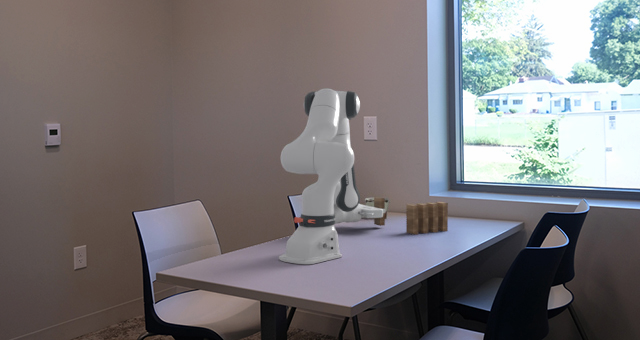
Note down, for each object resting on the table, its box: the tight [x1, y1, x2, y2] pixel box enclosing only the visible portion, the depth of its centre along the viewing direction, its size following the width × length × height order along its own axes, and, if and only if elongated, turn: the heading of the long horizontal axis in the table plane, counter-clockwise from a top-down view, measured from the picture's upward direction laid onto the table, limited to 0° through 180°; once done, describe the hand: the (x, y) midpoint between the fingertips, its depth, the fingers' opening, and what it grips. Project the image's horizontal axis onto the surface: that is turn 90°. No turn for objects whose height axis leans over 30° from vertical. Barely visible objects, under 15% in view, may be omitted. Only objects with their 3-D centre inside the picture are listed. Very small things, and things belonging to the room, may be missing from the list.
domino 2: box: [405, 203, 419, 236], centre depth 221 cm, size 2×5×12 cm, turn 24°
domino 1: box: [373, 196, 386, 227], centre depth 235 cm, size 2×5×12 cm, turn 25°
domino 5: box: [435, 201, 449, 232], centre depth 227 cm, size 2×5×12 cm, turn 24°
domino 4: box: [425, 202, 439, 233], centre depth 225 cm, size 2×5×12 cm, turn 24°
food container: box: [363, 197, 390, 220], centre depth 262 cm, size 12×6×10 cm, turn 84°
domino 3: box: [415, 202, 429, 234], centre depth 223 cm, size 2×5×12 cm, turn 24°
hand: (381, 209), depth 235 cm, fingers closed on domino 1, 5 cm apart
